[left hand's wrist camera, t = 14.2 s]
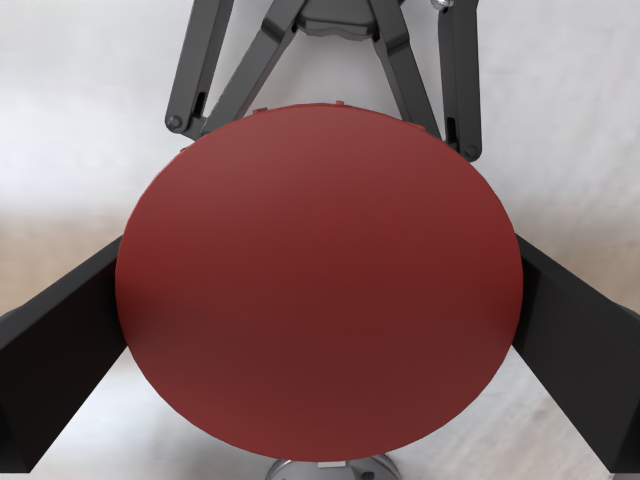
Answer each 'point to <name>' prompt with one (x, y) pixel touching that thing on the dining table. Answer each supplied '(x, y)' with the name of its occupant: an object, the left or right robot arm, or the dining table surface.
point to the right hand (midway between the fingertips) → (313, 258)
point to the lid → (319, 283)
